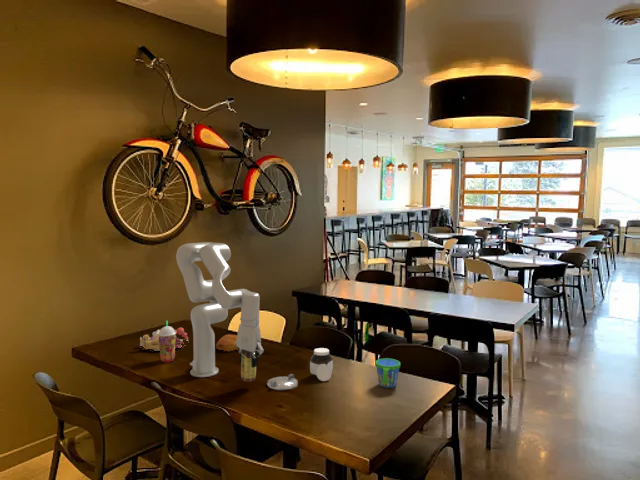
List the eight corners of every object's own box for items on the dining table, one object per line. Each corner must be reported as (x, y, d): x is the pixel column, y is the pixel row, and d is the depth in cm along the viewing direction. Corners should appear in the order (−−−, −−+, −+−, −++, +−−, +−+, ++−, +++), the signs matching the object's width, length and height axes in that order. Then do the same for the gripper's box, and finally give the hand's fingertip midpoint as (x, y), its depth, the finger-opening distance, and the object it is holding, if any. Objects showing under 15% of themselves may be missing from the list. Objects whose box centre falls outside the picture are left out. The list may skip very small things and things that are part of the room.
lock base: (260, 385, 202) (260, 379, 202) (281, 376, 213) (281, 371, 213) (283, 393, 194) (283, 386, 194) (304, 383, 205) (304, 377, 205)
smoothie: (155, 362, 232) (154, 321, 231) (166, 357, 240) (165, 318, 239) (168, 364, 229) (168, 323, 228) (180, 359, 237) (179, 319, 236)
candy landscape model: (178, 353, 247) (177, 336, 246) (133, 353, 247) (132, 336, 246) (191, 340, 272) (191, 324, 271) (150, 340, 272) (150, 324, 271)
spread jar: (323, 370, 221) (323, 346, 220) (341, 377, 213) (341, 351, 212) (304, 377, 213) (304, 351, 212) (322, 383, 205) (322, 357, 204)
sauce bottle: (241, 376, 202) (242, 330, 200) (256, 376, 202) (257, 331, 201) (240, 382, 195) (241, 335, 194) (255, 382, 196) (256, 335, 194)
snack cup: (395, 393, 194) (396, 369, 193) (370, 390, 198) (371, 366, 197) (403, 380, 209) (404, 358, 208) (380, 377, 213) (380, 355, 212)
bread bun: (230, 346, 266) (229, 332, 267) (250, 347, 257) (248, 332, 257) (209, 352, 255) (208, 337, 255) (230, 353, 245) (228, 338, 245)
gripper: (228, 320, 199) (227, 361, 200) (258, 328, 188) (257, 372, 190) (242, 316, 205) (241, 357, 206) (271, 324, 194) (270, 367, 196)
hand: (248, 363), depth 198 cm, fingers closed on sauce bottle, 6 cm apart
